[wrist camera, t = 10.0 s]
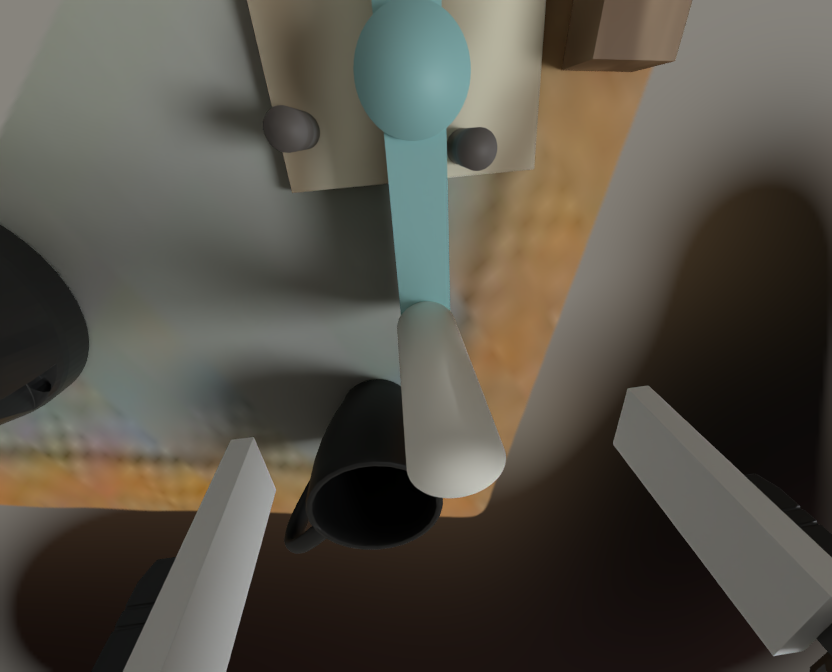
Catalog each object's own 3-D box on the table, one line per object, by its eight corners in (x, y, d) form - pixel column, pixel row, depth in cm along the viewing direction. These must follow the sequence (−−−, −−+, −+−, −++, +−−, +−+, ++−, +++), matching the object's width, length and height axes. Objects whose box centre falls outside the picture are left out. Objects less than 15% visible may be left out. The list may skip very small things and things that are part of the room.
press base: (295, 190, 22) (273, 204, 17) (235, -73, 16) (180, -149, 12) (528, 167, 22) (563, 176, 18) (544, -97, 17) (602, -179, 12)
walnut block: (592, 58, 17) (675, 60, 17) (613, -47, 15) (704, -42, 15) (560, 70, 20) (630, 72, 20) (575, -16, 18) (651, -13, 18)
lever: (387, 334, 24) (391, 504, 13) (330, -150, 14) (112, -1323, 3) (458, 327, 24) (522, 490, 13) (455, -155, 14) (733, -1276, 3)
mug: (272, 425, 30) (229, 536, 22) (384, 345, 27) (385, 438, 19) (340, 475, 34) (326, 587, 25) (446, 410, 31) (469, 512, 22)
